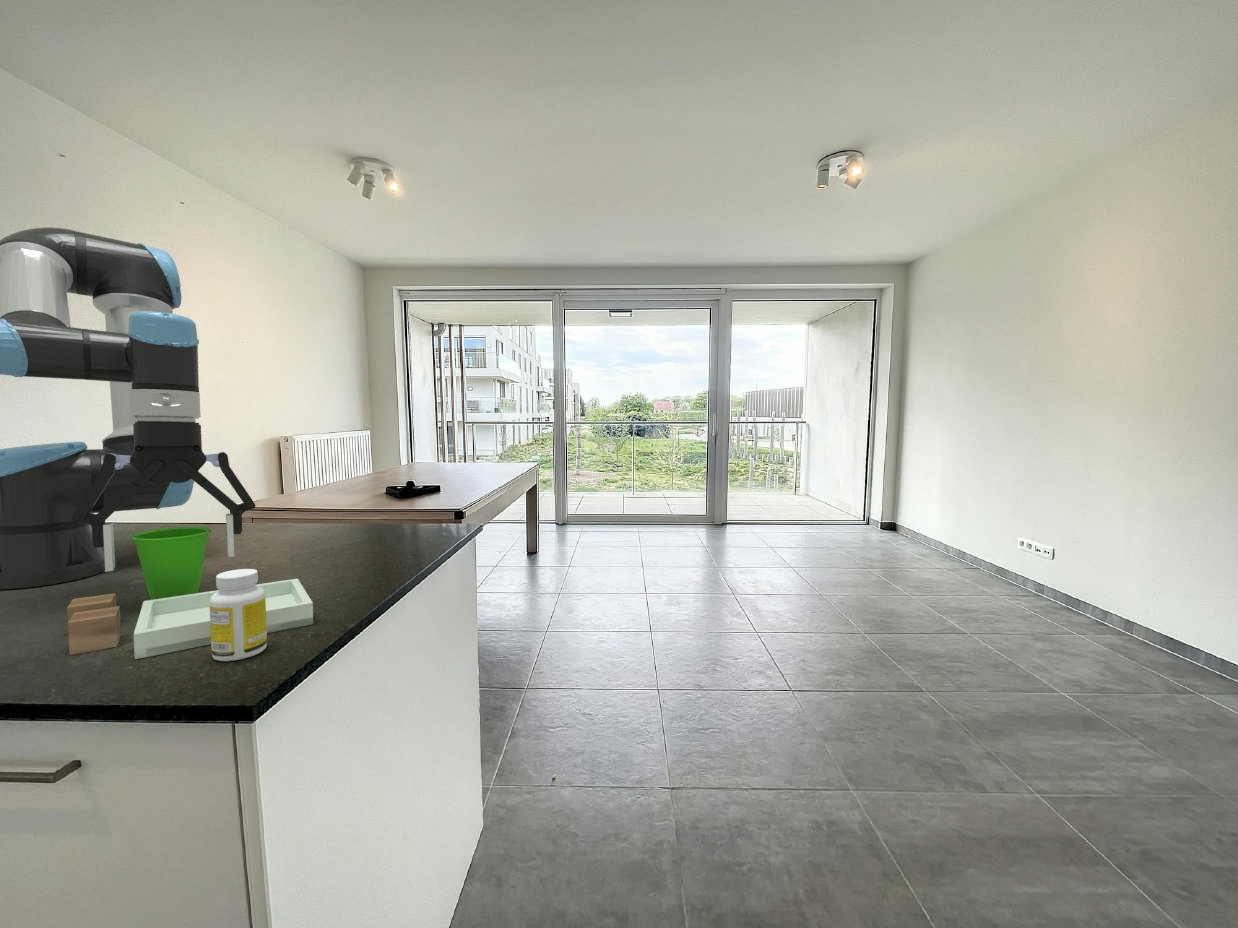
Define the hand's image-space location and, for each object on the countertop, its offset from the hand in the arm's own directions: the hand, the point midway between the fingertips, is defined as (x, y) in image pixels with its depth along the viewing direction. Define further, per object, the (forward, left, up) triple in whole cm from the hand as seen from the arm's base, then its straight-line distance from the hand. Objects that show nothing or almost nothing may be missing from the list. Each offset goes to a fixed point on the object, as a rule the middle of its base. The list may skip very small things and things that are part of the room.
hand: (174, 562), depth 76 cm
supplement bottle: (+25, +6, -7) cm, 27 cm away
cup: (0, 0, -7) cm, 7 cm away
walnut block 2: (+13, -7, -7) cm, 16 cm away
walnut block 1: (+6, -8, -7) cm, 12 cm away
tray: (+14, +6, -7) cm, 16 cm away
